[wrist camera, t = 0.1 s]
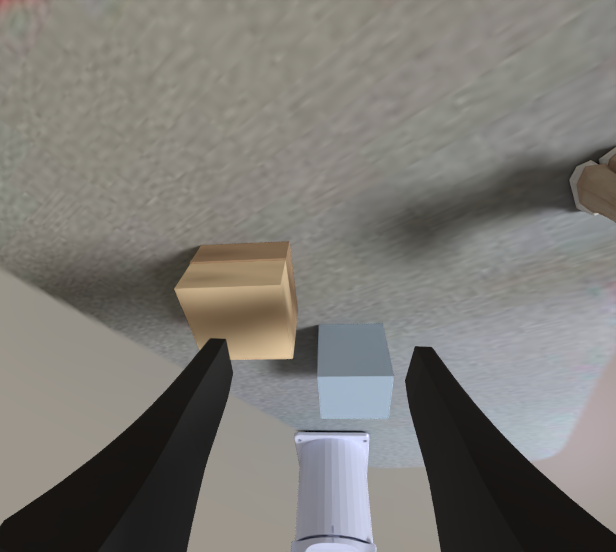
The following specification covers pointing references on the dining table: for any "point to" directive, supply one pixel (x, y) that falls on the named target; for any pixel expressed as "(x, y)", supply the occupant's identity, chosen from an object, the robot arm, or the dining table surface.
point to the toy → (596, 186)
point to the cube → (354, 372)
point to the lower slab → (250, 258)
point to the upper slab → (240, 307)
